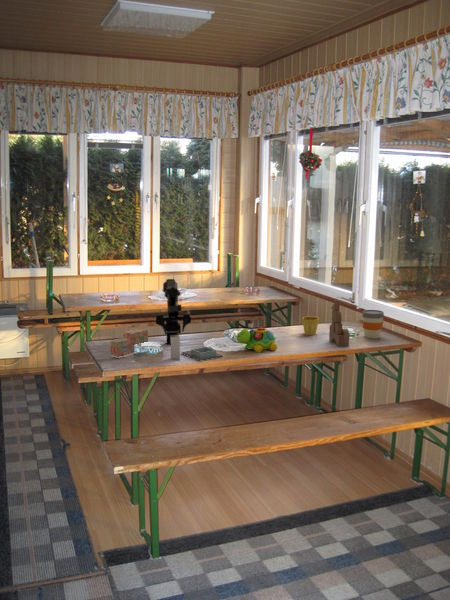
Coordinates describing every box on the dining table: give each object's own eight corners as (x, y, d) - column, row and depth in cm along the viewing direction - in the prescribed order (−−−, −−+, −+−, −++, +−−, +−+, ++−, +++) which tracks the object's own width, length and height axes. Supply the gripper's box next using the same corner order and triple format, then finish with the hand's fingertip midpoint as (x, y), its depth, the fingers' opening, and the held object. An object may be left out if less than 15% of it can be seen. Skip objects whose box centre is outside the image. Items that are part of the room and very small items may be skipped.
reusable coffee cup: (360, 338, 376) (361, 313, 373) (362, 333, 387) (363, 309, 385) (382, 339, 372) (383, 314, 369) (383, 334, 383) (384, 310, 381)
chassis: (181, 353, 342) (181, 347, 342) (203, 349, 350) (203, 343, 350) (199, 361, 328) (199, 354, 327) (222, 357, 336) (222, 350, 335)
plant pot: (314, 336, 380) (315, 320, 378) (298, 334, 385) (299, 318, 383) (321, 333, 389) (321, 317, 387) (305, 331, 394) (305, 315, 392)
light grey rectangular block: (170, 358, 334) (170, 335, 332) (179, 358, 334) (179, 334, 332) (171, 360, 329) (170, 337, 327) (179, 360, 330) (179, 336, 328)
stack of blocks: (118, 359, 332) (117, 336, 330) (110, 357, 336) (109, 334, 334) (148, 351, 348) (147, 329, 346) (140, 349, 352) (140, 327, 350)
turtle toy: (231, 347, 356) (231, 326, 354) (269, 343, 364) (269, 323, 362) (243, 354, 341) (243, 333, 338) (282, 350, 349) (282, 329, 346)
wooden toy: (349, 346, 357) (351, 302, 353) (338, 346, 356) (339, 303, 351) (338, 339, 372) (339, 297, 367) (327, 340, 370) (328, 298, 366)
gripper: (155, 299, 337) (156, 324, 329) (190, 298, 340) (192, 323, 331) (155, 311, 347) (156, 335, 338) (189, 310, 349) (191, 334, 340)
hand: (174, 332), depth 336 cm, fingers open, 9 cm apart
